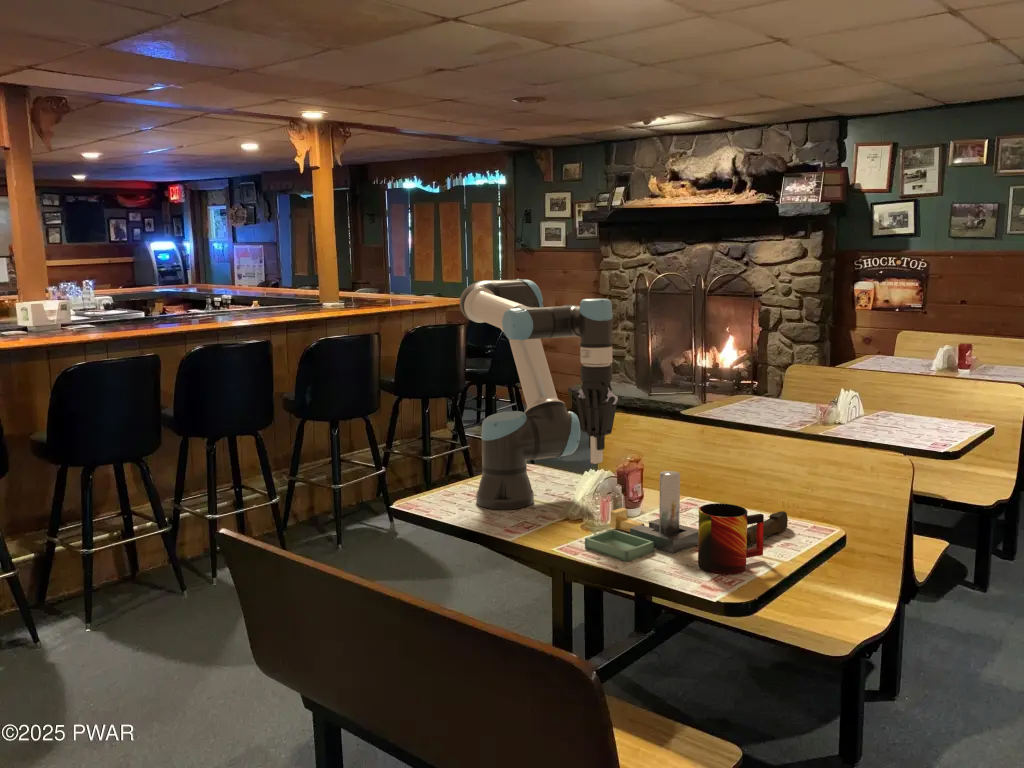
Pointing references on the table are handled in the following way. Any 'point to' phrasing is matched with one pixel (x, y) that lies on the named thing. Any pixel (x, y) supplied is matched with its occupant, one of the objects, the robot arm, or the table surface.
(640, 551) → the tray
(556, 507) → the table surface
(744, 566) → the mug
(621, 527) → the tan wooden stepped block
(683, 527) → the socket block
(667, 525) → the grey long rod
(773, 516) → the hand tool
